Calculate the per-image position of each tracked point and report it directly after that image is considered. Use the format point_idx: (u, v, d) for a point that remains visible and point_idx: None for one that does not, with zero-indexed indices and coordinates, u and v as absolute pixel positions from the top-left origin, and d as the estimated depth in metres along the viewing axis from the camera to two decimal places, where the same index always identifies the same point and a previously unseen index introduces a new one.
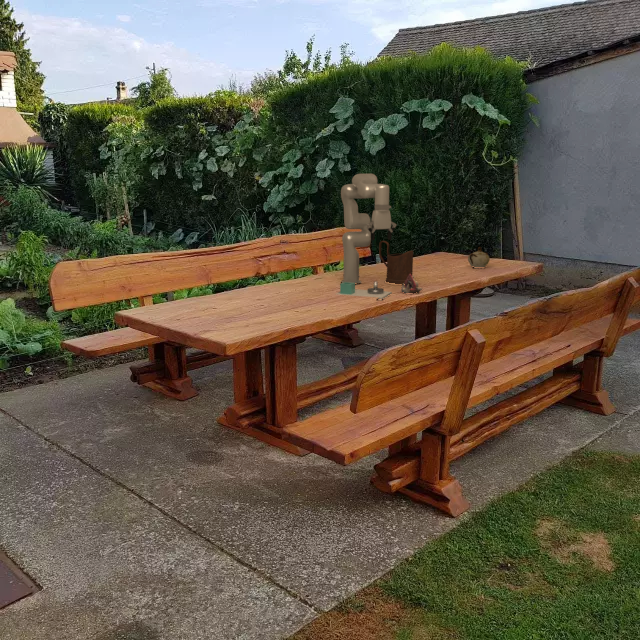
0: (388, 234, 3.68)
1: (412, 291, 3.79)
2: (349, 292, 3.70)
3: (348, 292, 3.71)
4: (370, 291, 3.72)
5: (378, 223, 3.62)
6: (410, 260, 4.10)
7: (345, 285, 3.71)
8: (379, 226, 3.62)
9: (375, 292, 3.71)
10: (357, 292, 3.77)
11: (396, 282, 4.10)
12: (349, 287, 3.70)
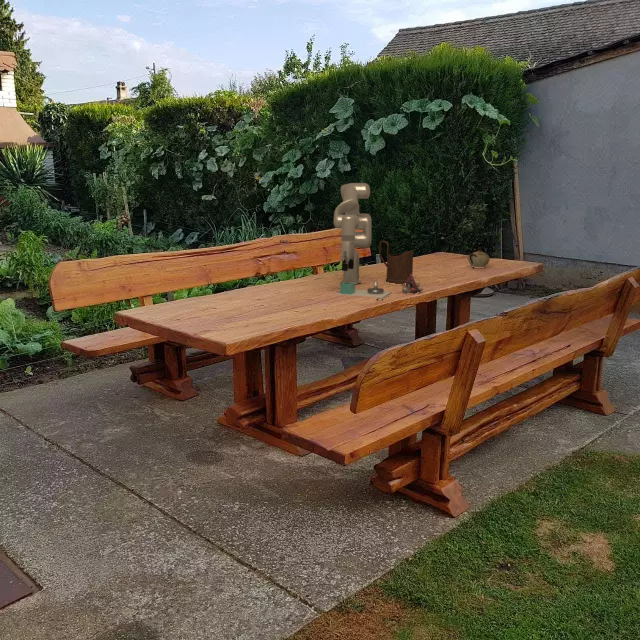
0: (350, 263, 3.75)
1: (413, 291, 3.79)
2: (349, 292, 3.70)
3: (348, 292, 3.71)
4: (370, 291, 3.72)
5: (350, 253, 3.66)
6: (410, 260, 4.10)
7: (345, 285, 3.71)
8: (350, 256, 3.67)
9: (375, 292, 3.71)
10: (357, 292, 3.77)
11: (396, 282, 4.10)
12: (349, 287, 3.70)
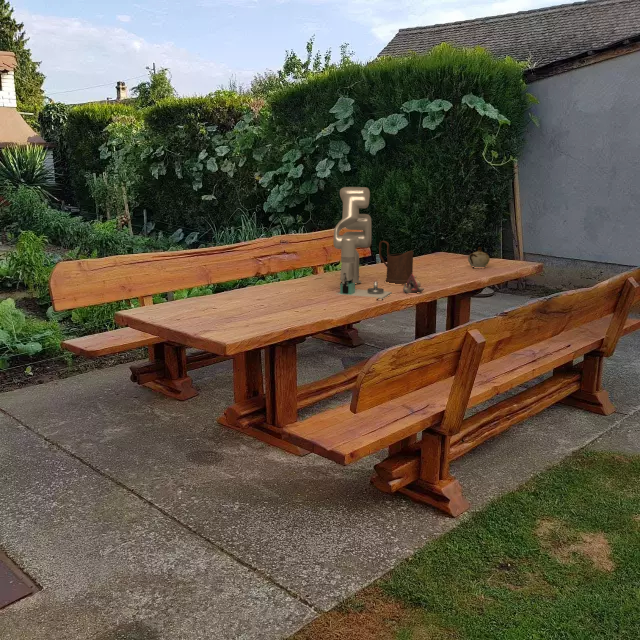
0: None
1: (414, 291, 3.79)
2: (349, 292, 3.70)
3: (348, 292, 3.71)
4: (370, 291, 3.72)
5: (350, 275, 3.69)
6: (410, 260, 4.10)
7: None
8: (350, 278, 3.70)
9: (375, 292, 3.71)
10: (357, 292, 3.77)
11: (396, 282, 4.10)
12: (349, 287, 3.70)
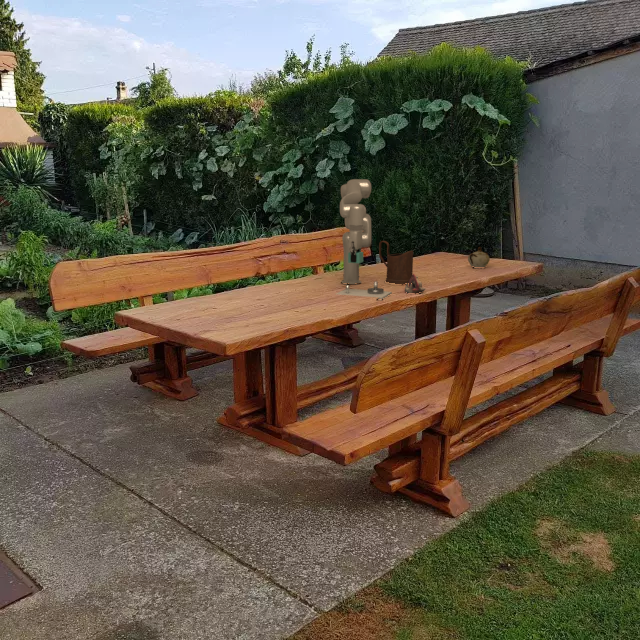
0: None
1: (415, 291, 3.79)
2: (357, 261, 3.67)
3: (356, 260, 3.67)
4: (370, 291, 3.72)
5: (358, 243, 3.65)
6: (410, 260, 4.10)
7: None
8: (358, 246, 3.66)
9: (375, 292, 3.71)
10: (357, 292, 3.77)
11: (396, 282, 4.10)
12: (357, 256, 3.66)
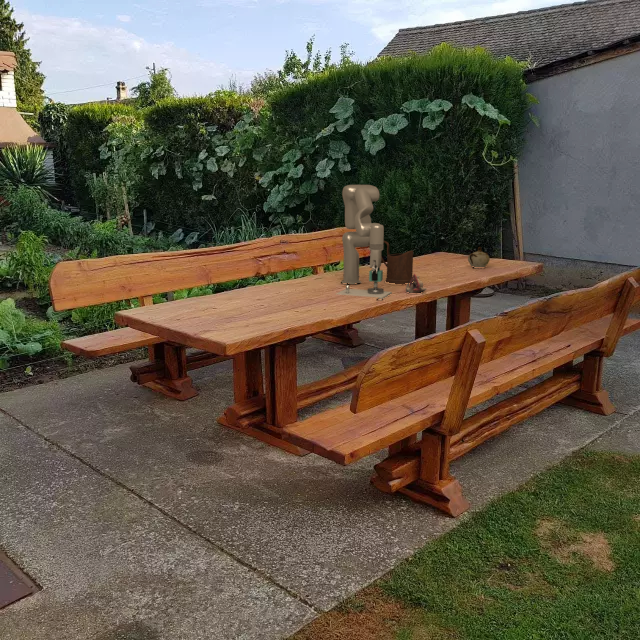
0: None
1: (416, 291, 3.79)
2: (378, 279, 3.70)
3: None
4: (370, 291, 3.72)
5: (379, 262, 3.69)
6: (410, 260, 4.10)
7: None
8: (379, 265, 3.69)
9: (375, 292, 3.71)
10: (357, 292, 3.77)
11: (396, 282, 4.10)
12: (378, 274, 3.70)
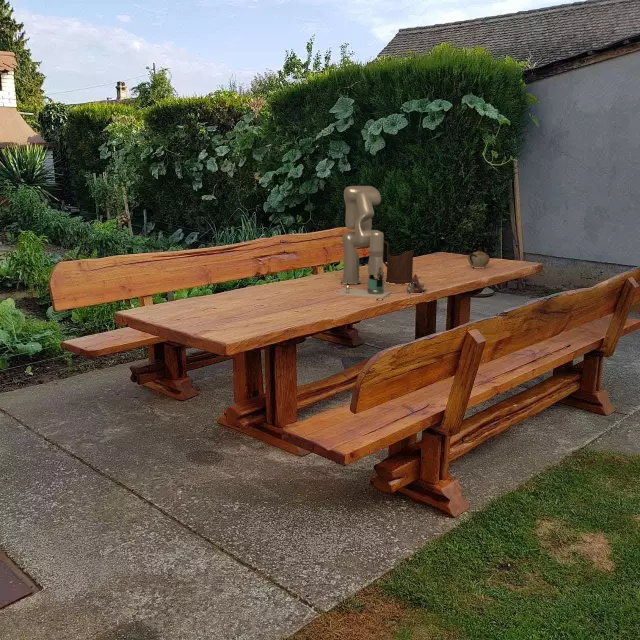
0: None
1: (416, 291, 3.79)
2: (381, 287, 3.73)
3: (380, 287, 3.73)
4: (370, 291, 3.72)
5: None
6: (410, 260, 4.10)
7: None
8: None
9: (375, 292, 3.71)
10: (357, 292, 3.77)
11: (396, 282, 4.10)
12: None
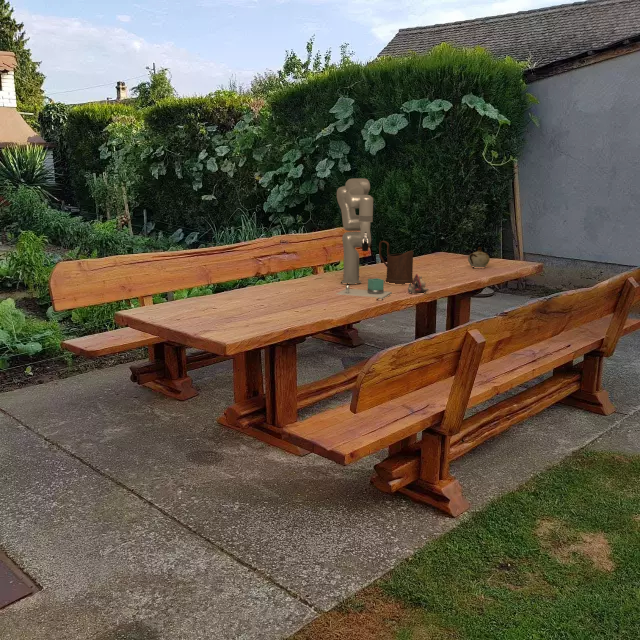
0: None
1: (417, 291, 3.79)
2: (381, 287, 3.73)
3: (380, 287, 3.73)
4: (370, 291, 3.72)
5: (369, 234, 3.74)
6: (410, 260, 4.10)
7: (378, 281, 3.71)
8: (369, 236, 3.75)
9: (375, 292, 3.71)
10: (357, 292, 3.77)
11: (396, 282, 4.10)
12: (381, 283, 3.72)
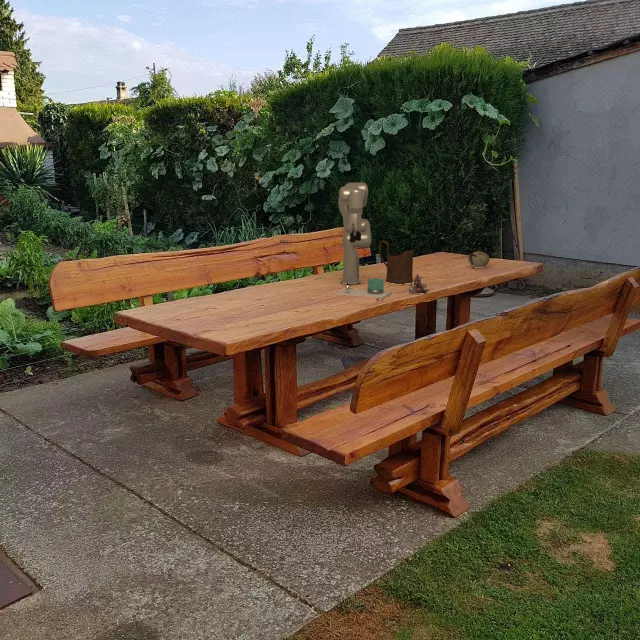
0: (357, 235, 3.89)
1: (418, 291, 3.79)
2: (381, 287, 3.73)
3: (380, 287, 3.73)
4: (370, 291, 3.72)
5: (357, 226, 3.80)
6: (410, 260, 4.10)
7: (378, 281, 3.71)
8: (357, 228, 3.81)
9: (375, 292, 3.71)
10: (357, 292, 3.77)
11: (396, 282, 4.10)
12: (381, 283, 3.72)
